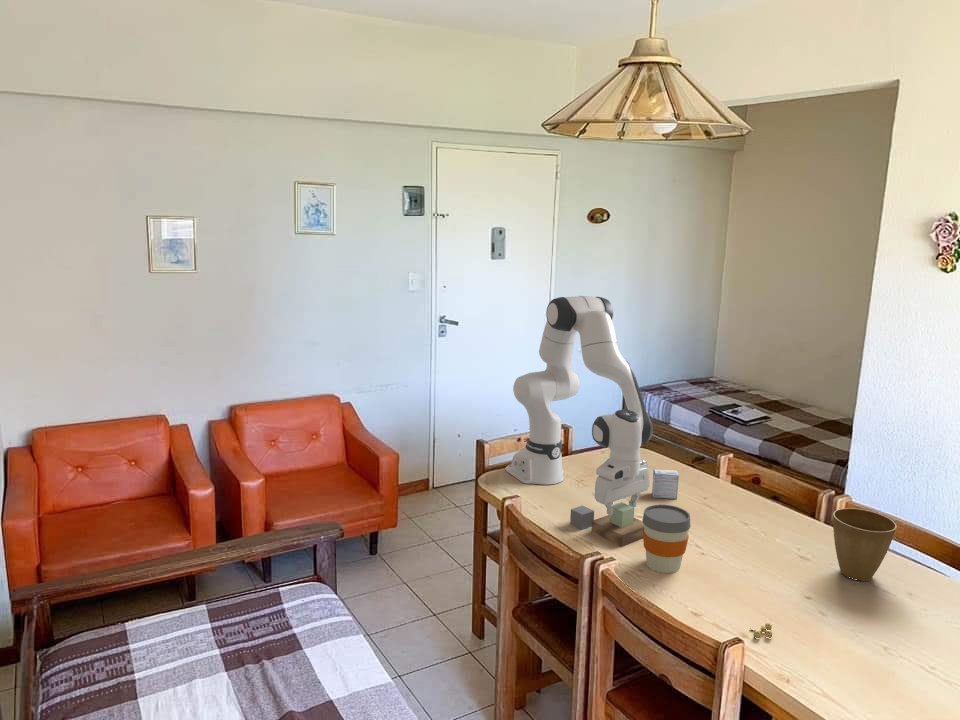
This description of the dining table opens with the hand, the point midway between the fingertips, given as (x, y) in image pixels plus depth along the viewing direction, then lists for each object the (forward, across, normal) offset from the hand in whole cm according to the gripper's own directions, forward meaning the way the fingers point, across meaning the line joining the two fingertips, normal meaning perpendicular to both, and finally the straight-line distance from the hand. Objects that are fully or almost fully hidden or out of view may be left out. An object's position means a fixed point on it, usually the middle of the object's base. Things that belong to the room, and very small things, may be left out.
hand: (621, 510), depth 218 cm
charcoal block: (+8, +5, -11) cm, 14 cm away
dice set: (+8, +13, +55) cm, 57 cm away
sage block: (+4, 0, 0) cm, 4 cm away
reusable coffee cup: (+8, +5, +20) cm, 22 cm away
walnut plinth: (+8, 0, 0) cm, 8 cm away
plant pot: (+8, -33, +54) cm, 64 cm away
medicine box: (+8, -34, -11) cm, 37 cm away
